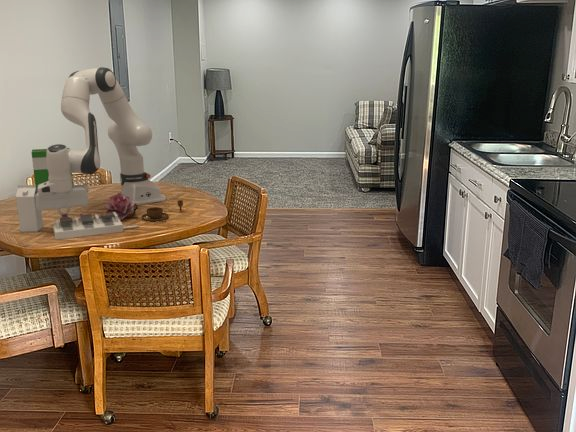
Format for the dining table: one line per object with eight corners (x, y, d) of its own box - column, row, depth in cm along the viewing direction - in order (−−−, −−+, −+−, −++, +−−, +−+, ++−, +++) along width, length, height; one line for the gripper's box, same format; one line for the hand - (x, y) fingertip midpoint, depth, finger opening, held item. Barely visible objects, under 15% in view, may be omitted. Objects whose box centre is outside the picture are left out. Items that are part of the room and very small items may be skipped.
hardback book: (36, 199, 285) (31, 151, 279) (37, 195, 292) (32, 149, 285) (74, 196, 291) (69, 150, 285) (74, 193, 298) (69, 147, 291)
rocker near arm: (111, 217, 242) (110, 213, 242) (113, 218, 236) (113, 213, 235) (100, 219, 240) (100, 214, 240) (102, 219, 234) (102, 215, 234)
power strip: (133, 221, 248) (132, 209, 246) (139, 229, 236) (138, 216, 235) (53, 230, 234) (52, 217, 233) (55, 239, 223) (54, 226, 221)
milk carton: (26, 227, 239) (20, 183, 234) (43, 226, 240) (38, 183, 234) (20, 232, 232) (14, 187, 227) (37, 231, 233) (32, 186, 228)
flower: (103, 207, 259) (104, 188, 254) (136, 209, 263) (138, 191, 259) (101, 225, 247) (102, 205, 242) (136, 227, 251) (138, 208, 246)
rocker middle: (91, 216, 239) (90, 212, 238) (93, 223, 233) (93, 219, 232) (80, 217, 237) (79, 213, 236) (82, 225, 231) (82, 220, 230)
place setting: (139, 215, 259) (138, 203, 258) (183, 211, 266) (182, 199, 264) (143, 226, 244) (142, 212, 242) (190, 221, 250) (189, 208, 249)
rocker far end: (71, 221, 235) (70, 216, 235) (72, 223, 229) (72, 219, 229) (60, 222, 234) (59, 217, 233) (61, 225, 227) (60, 220, 227)
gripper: (86, 181, 237) (89, 212, 241) (33, 185, 229) (37, 218, 233) (88, 184, 232) (91, 216, 236) (34, 189, 223) (38, 222, 228)
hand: (64, 217), depth 234 cm, fingers closed, pressing on rocker far end
